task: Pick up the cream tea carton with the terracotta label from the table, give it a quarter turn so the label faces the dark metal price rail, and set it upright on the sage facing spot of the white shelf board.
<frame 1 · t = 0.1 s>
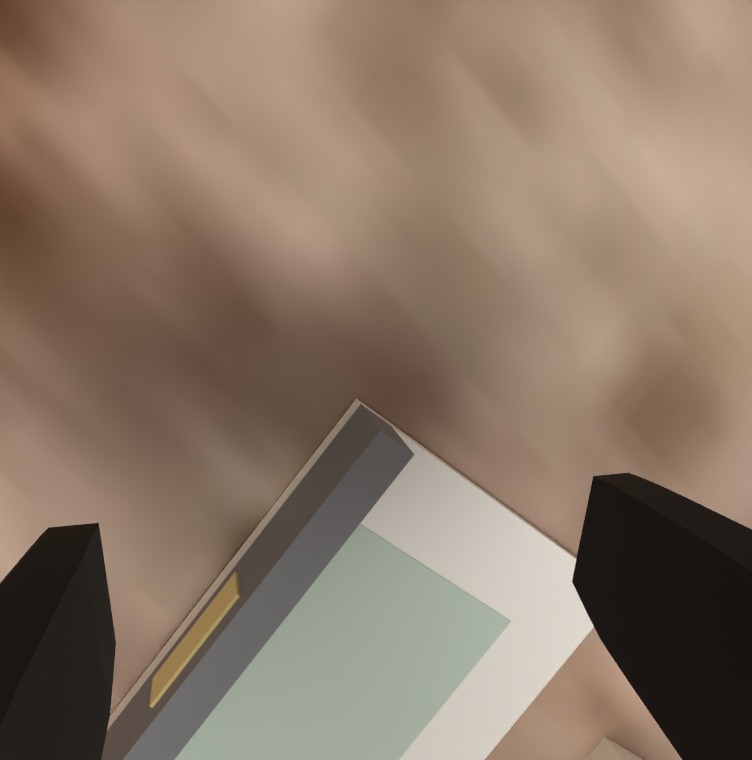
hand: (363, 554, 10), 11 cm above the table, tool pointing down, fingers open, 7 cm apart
shelf: (347, 684, 23), on the table
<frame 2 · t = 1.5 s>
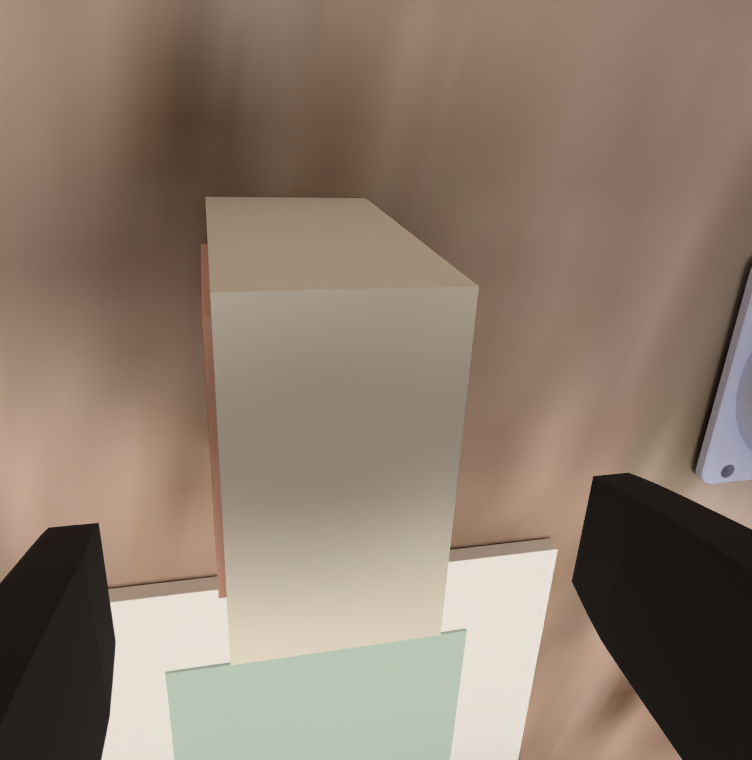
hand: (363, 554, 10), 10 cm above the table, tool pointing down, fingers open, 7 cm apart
tea carton: (288, 329, 18), on the table
shelf: (319, 699, 24), on the table
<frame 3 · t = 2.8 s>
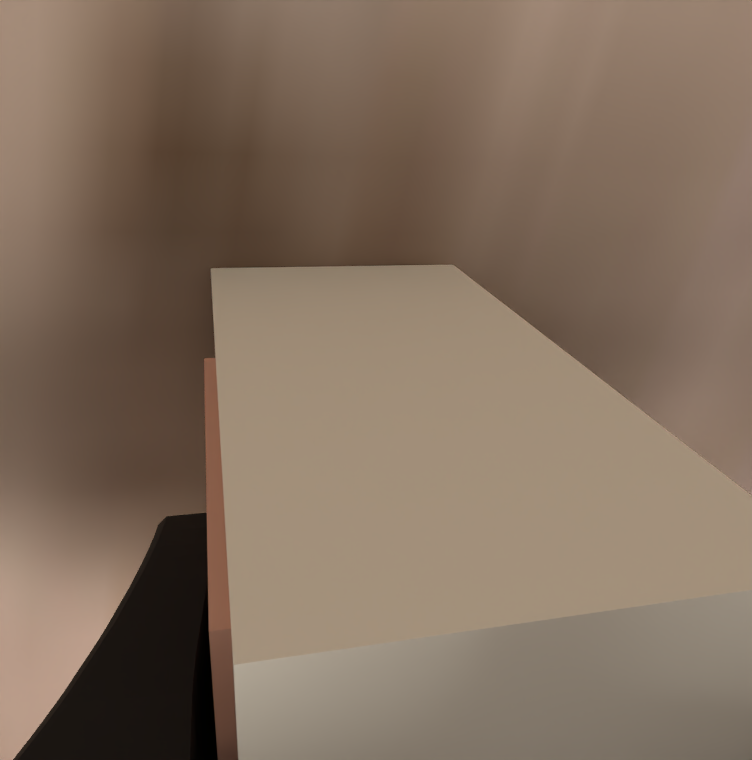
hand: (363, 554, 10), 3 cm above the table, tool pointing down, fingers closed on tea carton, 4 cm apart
tea carton: (332, 453, 13), on the table, touching gripper
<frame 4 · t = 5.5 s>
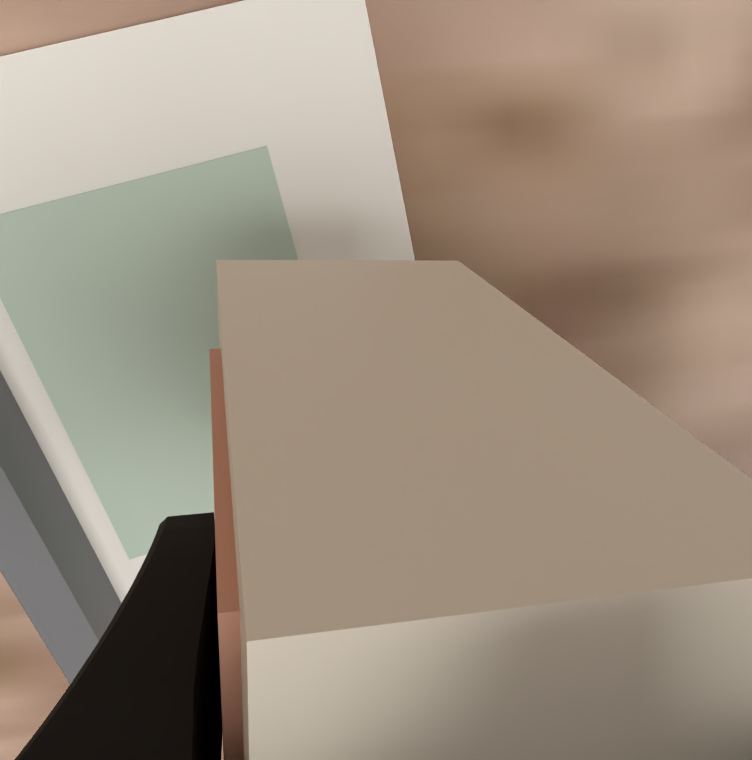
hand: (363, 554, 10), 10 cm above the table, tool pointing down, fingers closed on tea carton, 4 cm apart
tea carton: (334, 448, 13), point 7 cm above the table, touching gripper
shelf: (209, 358, 19), on the table
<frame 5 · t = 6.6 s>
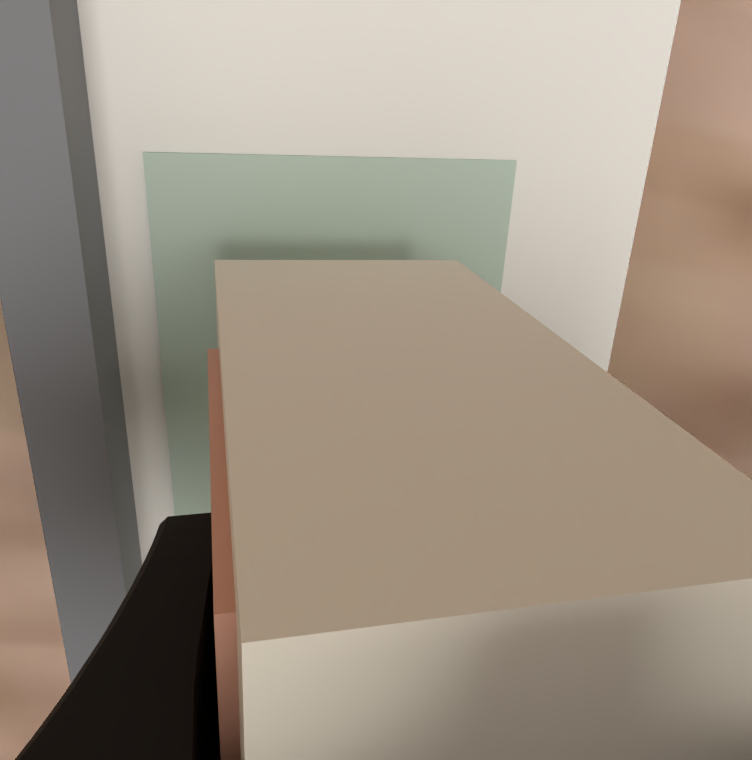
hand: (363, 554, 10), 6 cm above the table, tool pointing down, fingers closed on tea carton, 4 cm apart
tea carton: (333, 448, 12), point 3 cm above the table, touching gripper
shelf: (352, 386, 15), on the table
when the fingers open (4 cm above the table, at t = 7.7 s): tea carton stays where it is, resting on shelf.
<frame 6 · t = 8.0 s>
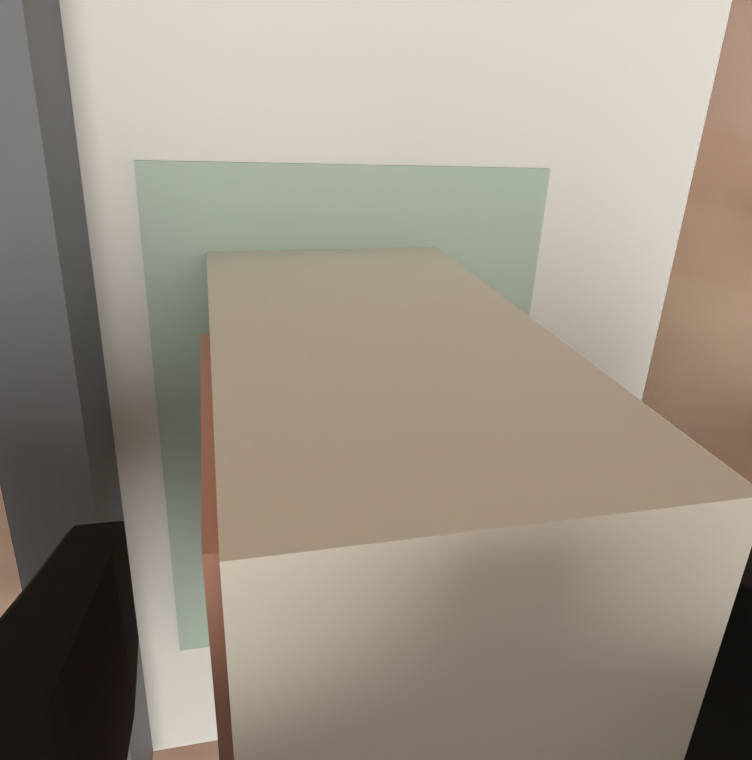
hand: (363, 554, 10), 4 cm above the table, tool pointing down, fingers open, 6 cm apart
tea carton: (325, 429, 13), point 1 cm above the table, touching shelf
shelf: (365, 414, 14), on the table
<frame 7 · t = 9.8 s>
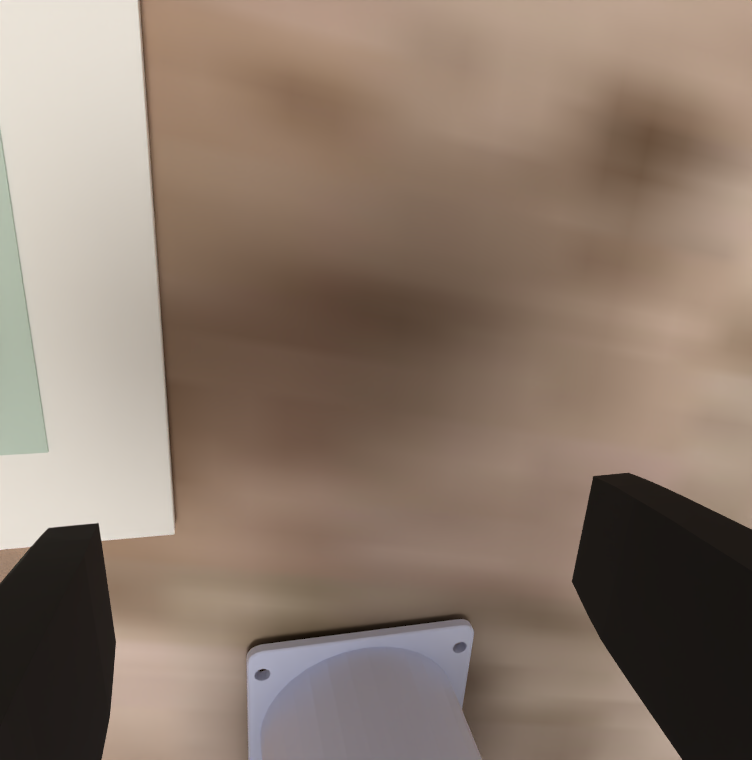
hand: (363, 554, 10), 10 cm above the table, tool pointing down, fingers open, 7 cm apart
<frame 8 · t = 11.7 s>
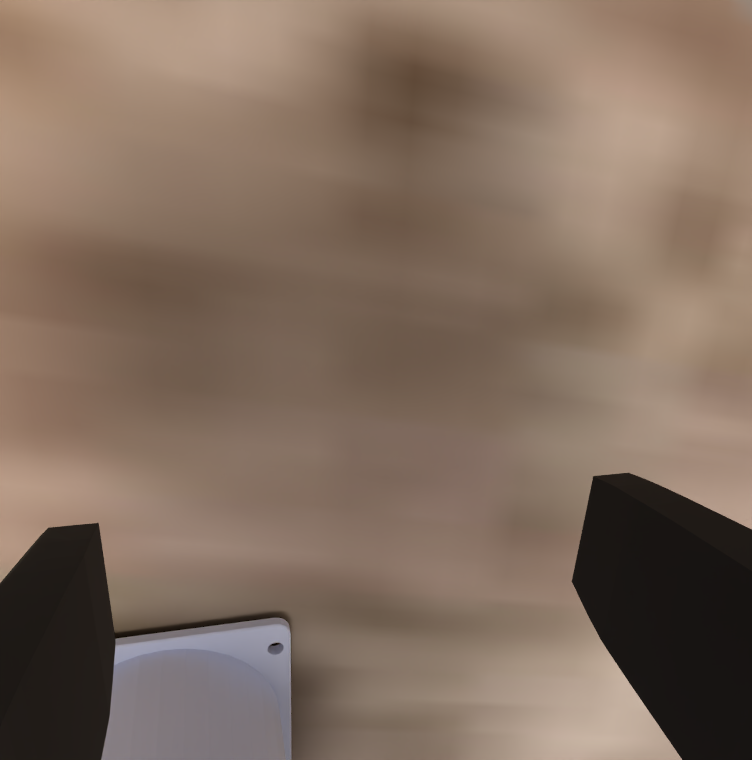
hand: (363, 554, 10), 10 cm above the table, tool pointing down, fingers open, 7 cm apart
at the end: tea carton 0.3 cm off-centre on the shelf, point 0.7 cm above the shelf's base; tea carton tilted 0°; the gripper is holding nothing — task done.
